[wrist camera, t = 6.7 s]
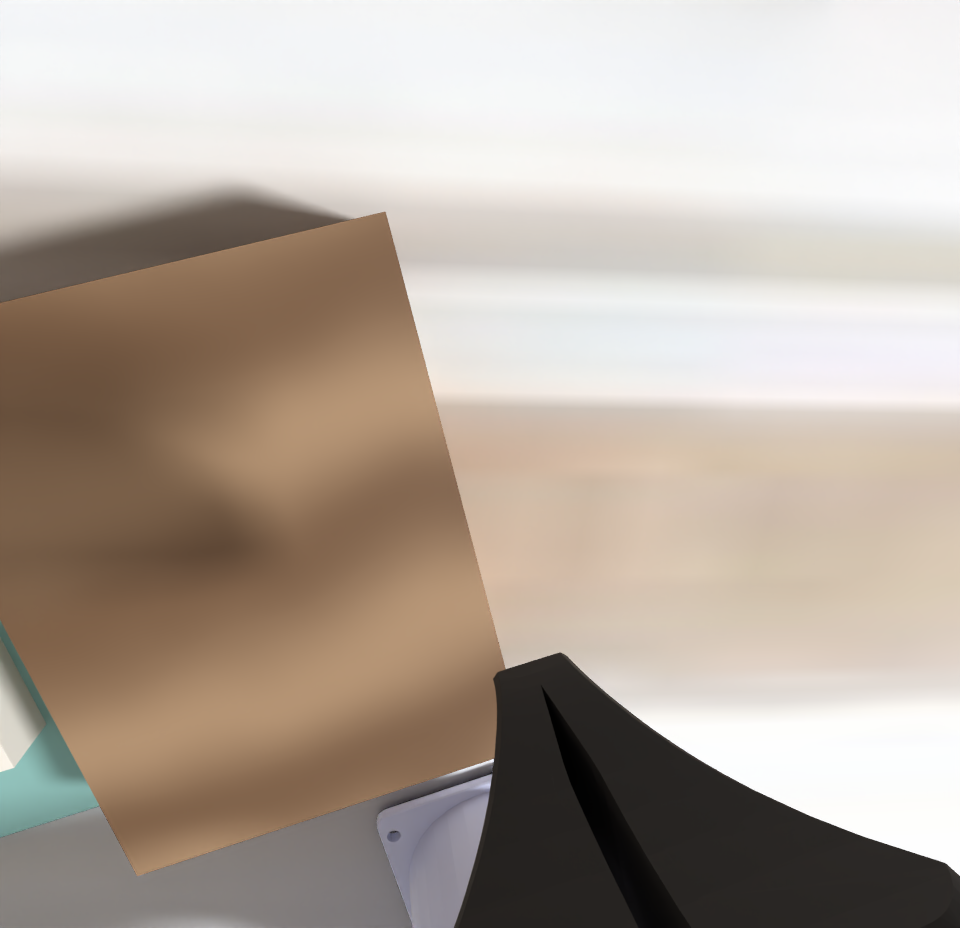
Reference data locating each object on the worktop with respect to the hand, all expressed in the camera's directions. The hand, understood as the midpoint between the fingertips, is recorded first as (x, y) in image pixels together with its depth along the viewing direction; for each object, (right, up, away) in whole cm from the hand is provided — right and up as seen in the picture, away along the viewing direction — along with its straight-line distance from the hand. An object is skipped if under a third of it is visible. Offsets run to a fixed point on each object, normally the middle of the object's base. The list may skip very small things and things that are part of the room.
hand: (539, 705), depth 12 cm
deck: (-8, +2, +9) cm, 12 cm away
